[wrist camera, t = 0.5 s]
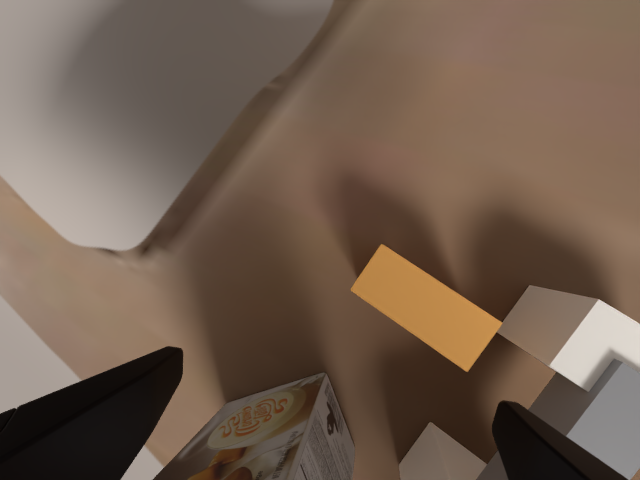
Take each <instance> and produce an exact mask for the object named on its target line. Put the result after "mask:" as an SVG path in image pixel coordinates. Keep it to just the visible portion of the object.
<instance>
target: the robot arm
mask: <svg viewBox="0 0 640 480" xmlns="http://www.w3.org/2000/svg"><path fill="white" fill-rule="evenodd" d="M182 374H183V350H182V349H181V348H177V347H171V346H167V347H165V348H162V349H160V350H157V351H155V352H152V353H150V354H147V355H145V356H142V357H140V358H137V359H135V360H132V361H130V362H127V363H125V364H122V365H120V366H117V367H115V368H112V369H110V370H107V371H105V372H103V373H100V374H98V375H95V376H93V377H90V378H88V379H85V380H83V381H80V382H78V383H75V384H73V385H70V386H68V387H65V388H63V389H60V390H58V391H55V392H53V393H50V394H48V395H45V396H43V397H41V398H38V399H36V400H33V401H31V402H28V403H26V404H23V405H21V406H19V407H18V408H17V409H15V408H13V409H10V410H8V411H5V412H3V413H1V414H0V480H120V479H121V478H122V476H123V475H124V473H125V472H126V470H127V469H128V468H129V466H130V465H131V463H132V462H133V460H134V459H135V457H136V456H137V454H138V453H139V452H140V450H141V449H142V447H143V446H144V444H145V443H146V441H147V440H148V438H149V437H150V435H151V433H152V432H153V430H154V428H155V427H156V425H157V423H158V421H159V419H160V418H161V416H162V414H163V412H164V410H165V408H166V407H167V405H168V403H169V401H170V399H171V398H172V396H173V394H174V392H175V390H176V389H177V387H178V385H179V383H180V381H181V378H182ZM492 433H493V437H494V440H495V443H496V446H497V448H498V451H499V454H500V457H501V460H502V463H503V466H504V469H505V472H506V475H507V478H508V480H629V479H627V478H626V477H624V476H623V475H621V474H620V473H618V472H617V471H616V470H614V469H613V468H611V467H610V466H608V465H607V464H605V463H604V462H603V461H601V460H600V459H598V458H597V457H595V456H594V455H592V454H591V453H590V452H588V451H587V450H585V449H584V448H582V447H581V446H579V445H578V444H577V443H575V442H574V441H572V440H571V439H569V438H568V437H566V436H565V435H564V434H562V433H561V432H559V431H558V430H556V429H555V428H553V427H552V426H551V425H549V424H548V423H546V422H545V421H543V420H542V419H540V418H539V417H538V416H536V415H535V414H533V413H532V412H530V411H529V410H527V409H526V408H525V407H523V406H522V405H520V404H519V403H516V402H511V401H505V400H503V401H500V402H499V404H498V407H497V410H496V413H495V417H494V420H493V423H492Z"/></svg>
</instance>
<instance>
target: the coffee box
mask: <svg viewBox="0 0 640 480" xmlns="http://www.w3.org/2000/svg"><path fill="white" fill-rule="evenodd" d="M354 458H355V448H354V444H353V441H352V439H351V436H350V433H349V431H348V428H347V426H346V423H345V420H344V418H343V415H342V412H341V410H340V407H339V404H338V402H337V399H336V396H335V394H334V391H333V389H332V386H331V384H330V381H329V378H328V376H327V374H326V373H320V374H317V375H313V376H310V377H307V378H303V379H300V380H297V381H294V382H291V383H288V384H285V385H282V386H278V387H275V388H272V389H269V390H266V391H263V392H260V393H256V394H253V395H250V396H247V397H244V398H241V399H238V400H235V401H232V402H229V403H226V404H225V405H224V406H223V407H222V408H221V409H220V410H219V411H218V412H217V413H216V414H215V415H214V416H213V417H212V418H211V420H210V421H209V422H208V423H207V424H205V426H204V427H203V428H202V429H201V430H200V431H199V432H198V433H197V434H196V435H195V436H194V437H193V438H192V440H191V441H190V442H189V443H187V444H186V446H185V447H184V448H183V449H182V450H181V451H180V452H179V453H178V454H177V455H176V456H175V457H174V458H173V459H172V460H171V461H170V462H169V463H168V464H167V465H166V466H165V467H164V468H163V469H162V470H161V471H160V473H159V474H158V475H156V477H155V478H154V479H153V480H352V479H353V468H354Z"/></svg>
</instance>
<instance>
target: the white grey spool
mask: <svg viewBox="0 0 640 480" xmlns="http://www.w3.org/2000/svg"><path fill="white" fill-rule="evenodd" d="M502 323H503V324H502V325H501V327H500V328H499V329H498V331H497V333H499V334H500V335H502V336H503V337H505V338H506V339H508V340H509V341H511V342H512V343H514V344H515V345H517V346H518V347H520V348H521V349H523V350H524V351H526V352H527V353H529V354H530V355H532V356H533V357H535V358H536V359H538V360H539V361H541V362H542V363H544V364H545V365H547V366H548V367H550V368H551V369H553V370H554V371H556V374H555V375H554V376H553V377H552V379H551V380H550V381H549V383H548V384H547V385H546V387H545V388H544V389H543V391H542V392H541V393H540V395H539V396H538V397H537V399H536V400H535V401H534V403H533V404H532V405H531V407H530V408H529V409H528V410H529V411H530V412H532V413H533V414H535V415H536V416H538V417H539V418H540V419H542V420H543V421H545V422H546V423H548V424H549V425H551V426H552V427H553V428H555V429H556V430H558V431H559V432H561V433H562V434H564V435H565V436H566V437H568V438H569V439H571V440H572V441H574V442H575V443H577V444H578V445H579V446H581V447H582V448H584V449H585V450H587V451H588V452H590V453H591V454H592V455H594V456H595V457H597V458H598V459H600V460H601V461H603V462H604V463H605V464H607V465H608V466H610V467H611V468H613V469H614V470H616V471H617V472H618V473H620V474H621V475H623V476H624V477H626V478H627V479H629V480H631V478H632V477H633V476H634V474H635V473H636V472H637V471H638V469H639V468H640V324H639V323H637V322H636V321H634V320H632V319H631V318H629V317H627V316H626V315H624V314H623V313H621V312H619V311H618V310H616V309H614V308H613V307H611V306H609V305H608V304H606V303H604V302H603V301H601V300H599V299H595V298H591V297H586V296H581V295H576V294H571V293H566V292H561V291H557V290H552V289H547V288H542V287H537V286H532V285H529V286H528V288H527V289H526V291H525V292H524V293H523V295H522V296H521V297H520V299H519V300H518V302H517V303H516V304H515V306H514V307H513V308H512V310H511V311H510V313H509V314H508V315H507V317H506V318H505V319H504V321H503V322H502ZM399 472H400V480H508V478H507V475H506V472H505V469H504V466H503V463H502V460H501V457H500V454H499V451H497V452H496V453H495V455H494V456H493V457H492V459H491V460H490V461H489V463H488V464H486V463H485V462H483V461H482V460H481V459H479V458H478V457H477V456H475V455H474V454H473V453H471V452H470V451H469V450H467V449H466V448H465V447H464V446H462V445H461V444H460V443H458V442H457V441H456V440H454V439H453V438H452V437H450V436H449V435H448V434H446V433H445V432H444V431H442V430H441V429H440V428H438V427H437V426H436V425H434V424H433V423H432V422H429V424H428V425H427V427H426V428H425V429H424V431H423V432H422V433H421V435H420V436H419V438H418V439H417V440H416V442H415V443H414V444H413V446H412V447H411V449H410V450H409V451H408V453H407V454H406V455H405V457H404V458H403V460H402V461H401V462H400V464H399Z"/></svg>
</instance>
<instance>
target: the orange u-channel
mask: <svg viewBox="0 0 640 480" xmlns="http://www.w3.org/2000/svg"><path fill="white" fill-rule="evenodd" d="M350 290H351V291H352V292H354V293H355V294H357V295H358V296H359V297H361V298H362V299H364V300H365V301H366V302H368V303H369V304H371V305H372V306H374V307H375V308H376V309H378V310H379V311H381V312H382V313H384V314H385V315H386V316H388V317H389V318H391V319H392V320H394V321H395V322H396V323H398V324H399V325H401V326H402V327H404V328H405V329H406V330H408V331H409V332H411V333H412V334H414V335H415V336H416V337H418V338H419V339H421V340H422V341H423V342H425V343H426V344H428V345H429V346H431V347H432V348H433V349H435V350H436V351H438V352H439V353H441V354H442V355H443V356H445V357H446V358H448V359H449V360H451V361H452V362H453V363H455V364H456V365H458V366H459V367H461V368H462V369H463V370H465V371H466V372H468V371H469V369H470V368H471V366H472V365H473V364H474V362H475V361H476V360H477V358H478V357H479V355H480V354H481V353H482V351H483V350H484V349H485V347H486V346H487V344H488V343H489V342H490V340H491V339H492V338H493V336H494V335H495V333H496V332H497V331H498V329H499V328H500V327H501V325H502V324H503V323H502V322H501V321H499V320H497V319H496V318H494V317H493V316H491V315H490V314H488V313H487V312H485V311H484V310H482V309H481V308H479V307H478V306H476V305H475V304H473V303H472V302H470V301H468V300H467V299H465V298H464V297H462V296H461V295H459V294H458V293H456V292H455V291H453V290H452V289H450V288H449V287H447V286H446V285H444V284H443V283H441V282H440V281H438V280H436V279H435V278H433V277H432V276H430V275H429V274H427V273H426V272H424V271H423V270H421V269H420V268H418V267H417V266H415V265H414V264H412V263H411V262H409V261H407V260H406V259H404V258H403V257H401V256H400V255H398V254H397V253H395V252H394V251H392V250H391V249H389V248H388V247H386V246H385V245H383V244H381V245H380V246H379V248H378V249H377V251H376V252H375V253H374V255H373V256H372V258H371V259H370V261H369V262H368V264H367V265H366V267H365V268H364V270H363V271H362V273H361V274H360V275H359V277H358V278H357V280H356V282H355V283H354V285H353V286H352V288H351V289H350Z"/></svg>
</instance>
